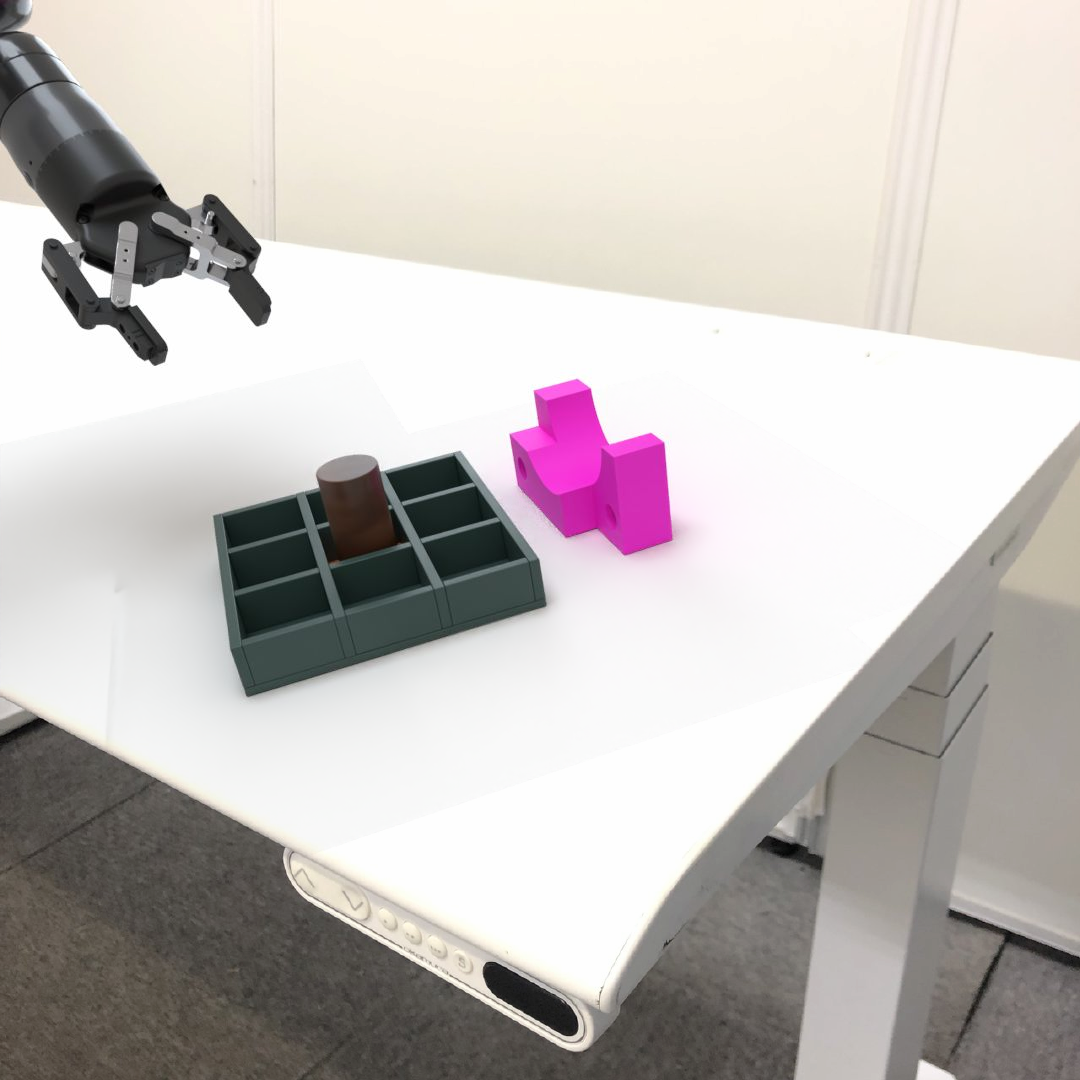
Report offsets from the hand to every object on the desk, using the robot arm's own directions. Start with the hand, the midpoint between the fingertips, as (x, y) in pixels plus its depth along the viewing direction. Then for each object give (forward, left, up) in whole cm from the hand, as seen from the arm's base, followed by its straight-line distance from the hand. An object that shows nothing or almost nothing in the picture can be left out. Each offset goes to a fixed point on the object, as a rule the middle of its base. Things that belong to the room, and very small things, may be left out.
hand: (215, 337), depth 73 cm
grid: (+6, -10, -17) cm, 20 cm away
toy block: (+23, -9, -17) cm, 30 cm away
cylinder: (+6, -10, -16) cm, 20 cm away
